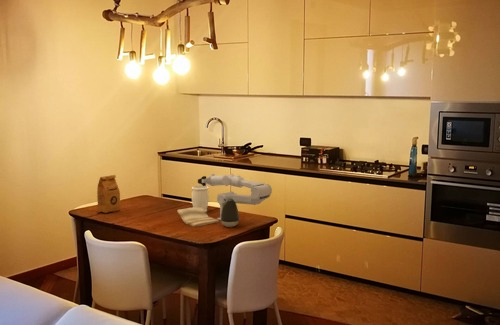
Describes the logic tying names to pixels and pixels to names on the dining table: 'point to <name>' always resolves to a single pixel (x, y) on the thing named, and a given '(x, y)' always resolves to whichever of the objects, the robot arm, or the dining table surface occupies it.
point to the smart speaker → (229, 213)
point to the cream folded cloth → (192, 213)
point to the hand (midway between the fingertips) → (203, 181)
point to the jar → (200, 196)
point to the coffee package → (108, 195)
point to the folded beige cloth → (202, 221)
